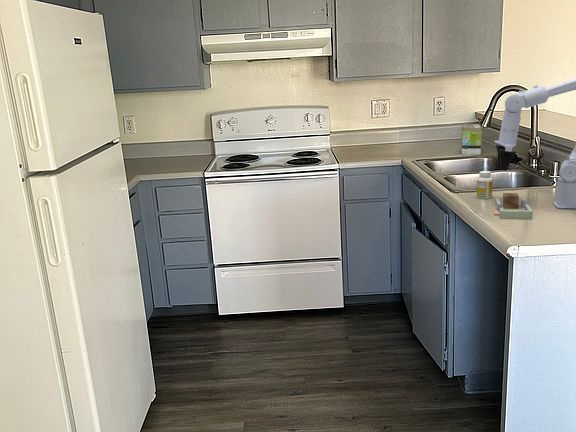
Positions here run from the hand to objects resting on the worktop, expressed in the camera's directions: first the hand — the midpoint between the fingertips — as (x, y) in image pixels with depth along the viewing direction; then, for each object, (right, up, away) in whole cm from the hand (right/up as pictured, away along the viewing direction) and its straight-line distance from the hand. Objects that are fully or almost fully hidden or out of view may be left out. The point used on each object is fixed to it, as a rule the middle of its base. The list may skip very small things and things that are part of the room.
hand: (502, 167), depth 198 cm
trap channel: (0, -15, -9) cm, 18 cm away
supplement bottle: (-2, -10, +11) cm, 16 cm away
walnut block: (+2, -14, -4) cm, 15 cm away
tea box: (+24, +17, +107) cm, 111 cm away
